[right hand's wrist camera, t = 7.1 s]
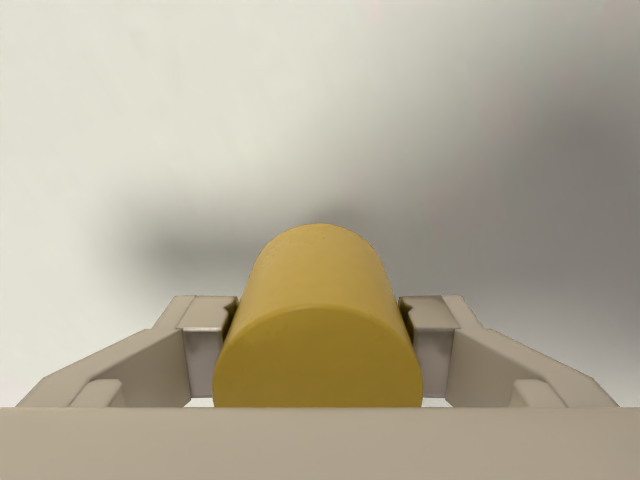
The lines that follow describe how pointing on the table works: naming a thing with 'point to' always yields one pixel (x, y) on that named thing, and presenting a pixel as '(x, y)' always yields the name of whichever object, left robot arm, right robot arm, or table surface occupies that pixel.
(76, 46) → the table surface
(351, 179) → the table surface
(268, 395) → the cylinder
